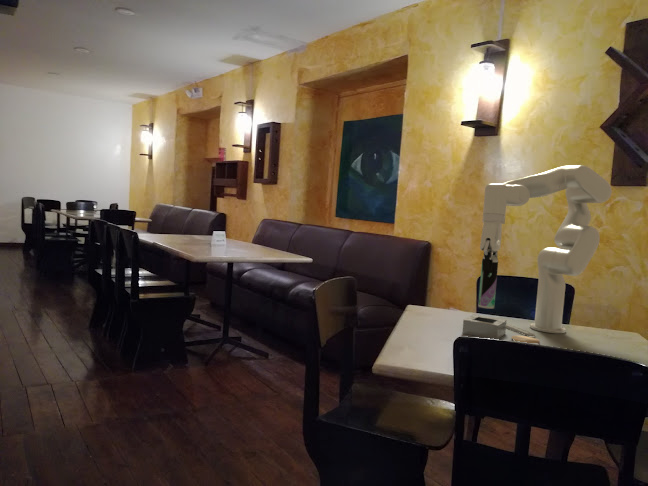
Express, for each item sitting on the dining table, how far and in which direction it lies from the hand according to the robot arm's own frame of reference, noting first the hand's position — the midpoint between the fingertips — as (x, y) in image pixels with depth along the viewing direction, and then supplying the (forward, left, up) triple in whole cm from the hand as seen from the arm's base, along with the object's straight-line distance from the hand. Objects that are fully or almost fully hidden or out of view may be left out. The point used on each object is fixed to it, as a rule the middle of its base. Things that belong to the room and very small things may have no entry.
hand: (489, 269), depth 179 cm
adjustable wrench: (-16, +5, -24) cm, 29 cm away
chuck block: (0, 0, -23) cm, 23 cm away
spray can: (0, 0, -14) cm, 14 cm away
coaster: (0, +14, -23) cm, 27 cm away
